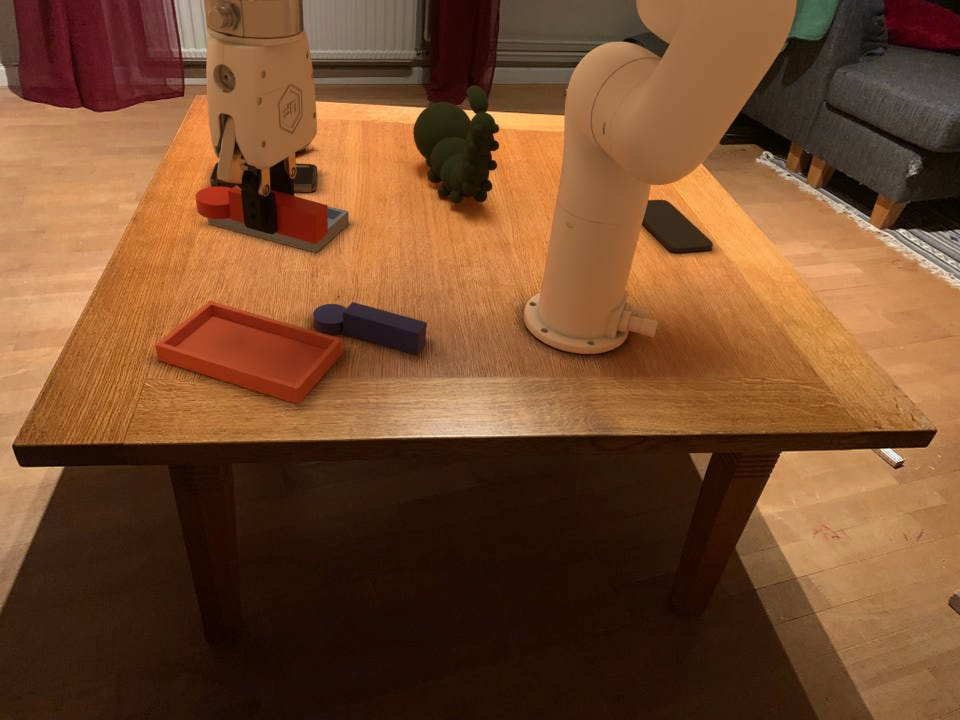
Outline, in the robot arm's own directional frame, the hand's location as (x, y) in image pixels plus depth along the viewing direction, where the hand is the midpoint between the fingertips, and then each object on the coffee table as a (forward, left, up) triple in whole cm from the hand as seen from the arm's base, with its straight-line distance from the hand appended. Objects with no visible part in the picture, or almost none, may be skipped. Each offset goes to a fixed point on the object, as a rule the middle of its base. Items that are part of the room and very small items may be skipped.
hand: (270, 221), depth 70 cm
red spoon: (+1, 0, 0) cm, 1 cm away
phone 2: (-35, -52, -15) cm, 64 cm away
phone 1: (+24, -36, -15) cm, 46 cm away
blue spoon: (-7, -7, -15) cm, 18 cm away
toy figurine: (-1, -49, -15) cm, 51 cm away
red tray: (+2, +2, -15) cm, 16 cm away
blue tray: (+15, -25, -15) cm, 33 cm away
